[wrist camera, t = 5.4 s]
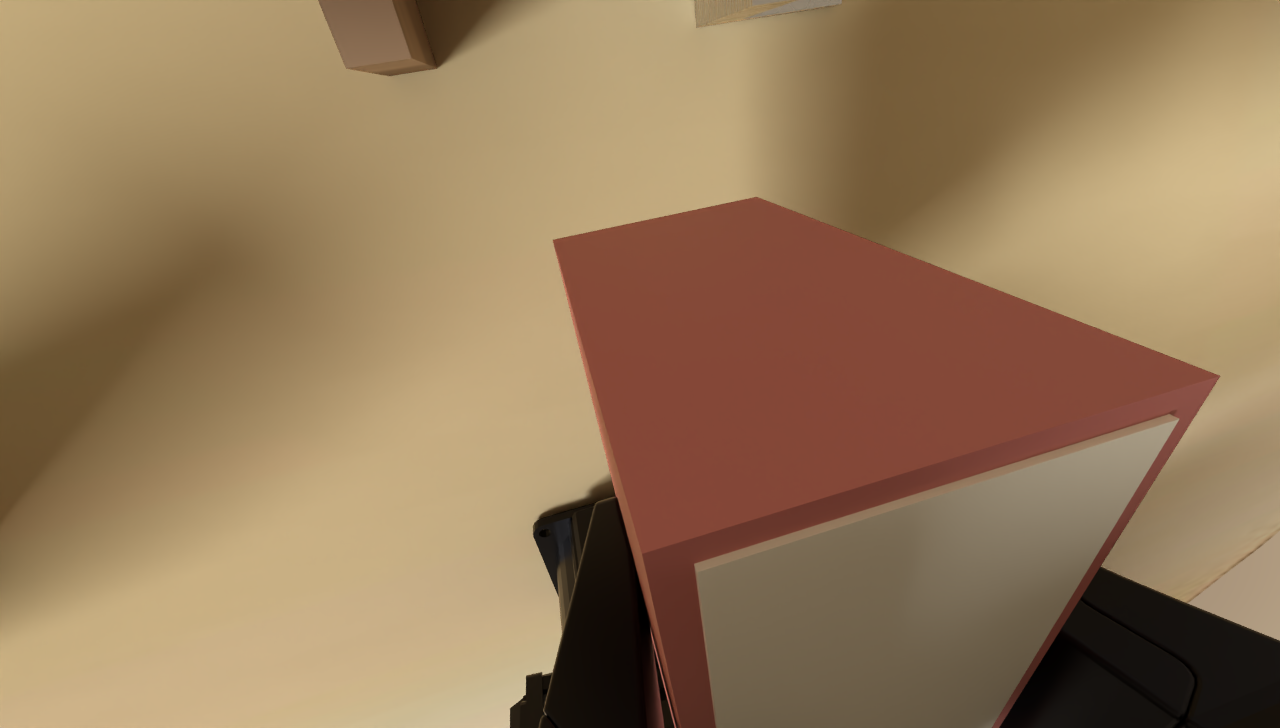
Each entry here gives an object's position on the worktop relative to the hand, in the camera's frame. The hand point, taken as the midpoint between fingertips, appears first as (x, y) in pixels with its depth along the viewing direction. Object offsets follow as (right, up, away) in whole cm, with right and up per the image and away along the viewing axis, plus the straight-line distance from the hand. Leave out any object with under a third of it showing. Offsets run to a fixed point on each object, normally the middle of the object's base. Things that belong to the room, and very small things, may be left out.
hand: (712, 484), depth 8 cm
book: (0, +1, +1) cm, 2 cm away
